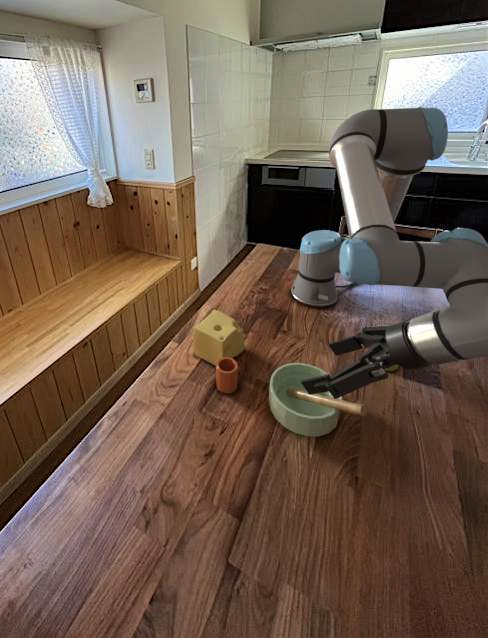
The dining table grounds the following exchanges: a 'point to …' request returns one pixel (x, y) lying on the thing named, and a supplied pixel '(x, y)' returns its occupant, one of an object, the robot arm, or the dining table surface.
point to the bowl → (300, 402)
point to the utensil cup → (227, 375)
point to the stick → (328, 401)
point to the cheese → (217, 337)
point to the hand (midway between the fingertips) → (320, 367)
